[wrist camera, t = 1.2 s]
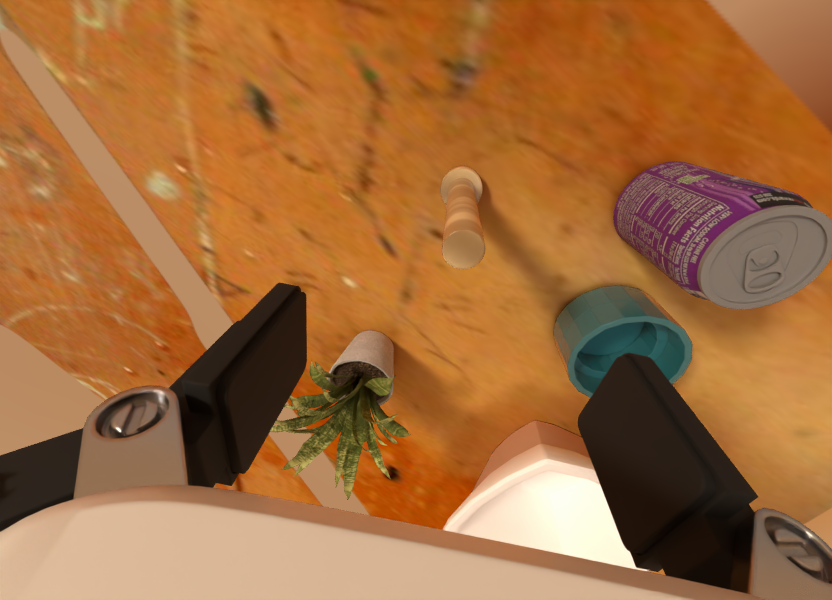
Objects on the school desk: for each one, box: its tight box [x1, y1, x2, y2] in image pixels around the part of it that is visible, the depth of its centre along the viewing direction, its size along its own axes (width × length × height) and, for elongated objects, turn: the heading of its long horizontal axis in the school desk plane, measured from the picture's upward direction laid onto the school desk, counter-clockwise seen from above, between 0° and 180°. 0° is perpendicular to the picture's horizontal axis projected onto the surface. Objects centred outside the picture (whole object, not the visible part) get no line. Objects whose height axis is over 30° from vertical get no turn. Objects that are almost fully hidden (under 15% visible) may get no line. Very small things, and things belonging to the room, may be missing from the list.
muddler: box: [440, 166, 485, 269], centre depth 23 cm, size 4×4×15 cm
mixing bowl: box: [553, 285, 692, 398], centre depth 32 cm, size 10×10×6 cm
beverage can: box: [613, 162, 832, 309], centre depth 23 cm, size 7×7×12 cm
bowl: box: [442, 421, 648, 571], centre depth 43 cm, size 24×25×11 cm
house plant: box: [270, 330, 411, 500], centre depth 32 cm, size 14×14×16 cm
